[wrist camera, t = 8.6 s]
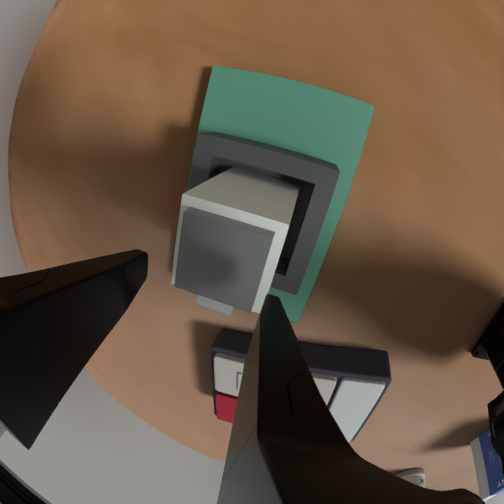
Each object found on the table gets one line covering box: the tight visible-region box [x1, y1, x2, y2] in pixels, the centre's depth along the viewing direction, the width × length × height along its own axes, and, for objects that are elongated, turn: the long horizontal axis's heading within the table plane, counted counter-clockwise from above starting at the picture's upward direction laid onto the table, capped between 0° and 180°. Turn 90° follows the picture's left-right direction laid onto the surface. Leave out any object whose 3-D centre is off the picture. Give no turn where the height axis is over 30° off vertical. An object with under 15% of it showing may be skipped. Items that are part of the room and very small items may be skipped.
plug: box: [171, 167, 300, 316], centre depth 14 cm, size 4×5×8 cm
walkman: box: [470, 428, 504, 501], centre depth 19 cm, size 8×3×12 cm, turn 154°
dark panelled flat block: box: [211, 328, 391, 442], centre depth 24 cm, size 11×4×15 cm
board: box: [187, 66, 375, 323], centre depth 17 cm, size 10×16×4 cm, turn 166°
